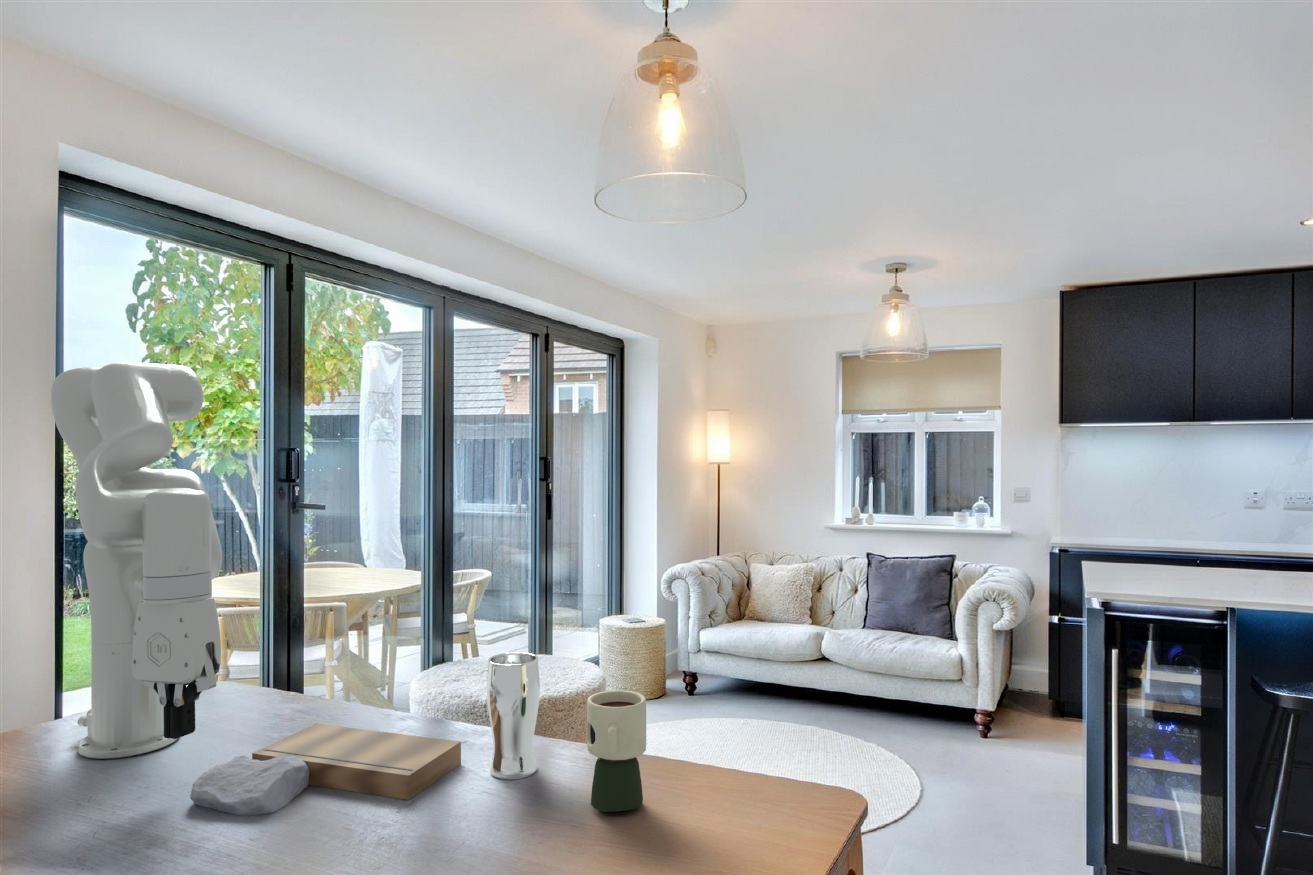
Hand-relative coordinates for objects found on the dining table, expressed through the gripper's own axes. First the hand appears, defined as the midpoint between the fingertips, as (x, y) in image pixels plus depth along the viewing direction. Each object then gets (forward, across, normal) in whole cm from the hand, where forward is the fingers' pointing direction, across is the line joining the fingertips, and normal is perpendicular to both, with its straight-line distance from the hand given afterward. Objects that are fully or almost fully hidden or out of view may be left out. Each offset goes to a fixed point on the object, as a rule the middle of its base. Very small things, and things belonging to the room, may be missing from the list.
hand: (179, 734), depth 104 cm
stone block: (+8, +9, +2) cm, 12 cm away
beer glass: (+8, +36, +19) cm, 42 cm away
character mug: (+9, +53, +13) cm, 56 cm away
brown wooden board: (+8, +16, +13) cm, 22 cm away
